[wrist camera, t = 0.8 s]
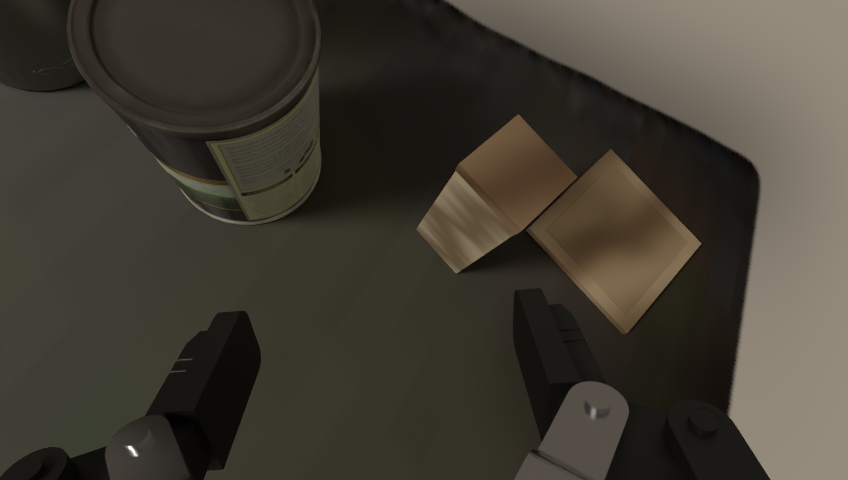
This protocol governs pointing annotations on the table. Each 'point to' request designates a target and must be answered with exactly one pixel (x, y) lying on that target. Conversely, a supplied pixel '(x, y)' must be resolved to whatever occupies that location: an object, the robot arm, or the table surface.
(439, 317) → the table surface
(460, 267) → the wooden box with lid
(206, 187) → the coffee can
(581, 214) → the cork coaster
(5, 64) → the robot arm
